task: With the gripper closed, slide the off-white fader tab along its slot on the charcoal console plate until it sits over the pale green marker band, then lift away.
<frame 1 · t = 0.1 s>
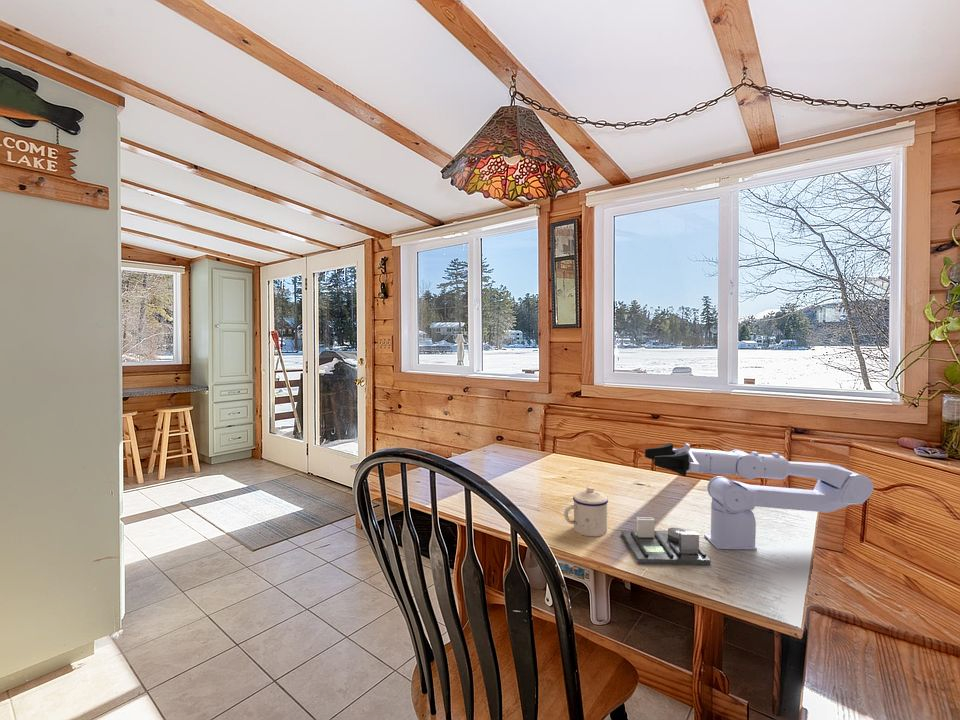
hand: (649, 456, 118), 22 cm above the table, tool horizontal, fingers open, 7 cm apart
teacup with lid: (585, 531, 126), on the table
fader: (645, 527, 119), point 4 cm above the table, slide at -4.0 cm
console: (662, 548, 115), on the table
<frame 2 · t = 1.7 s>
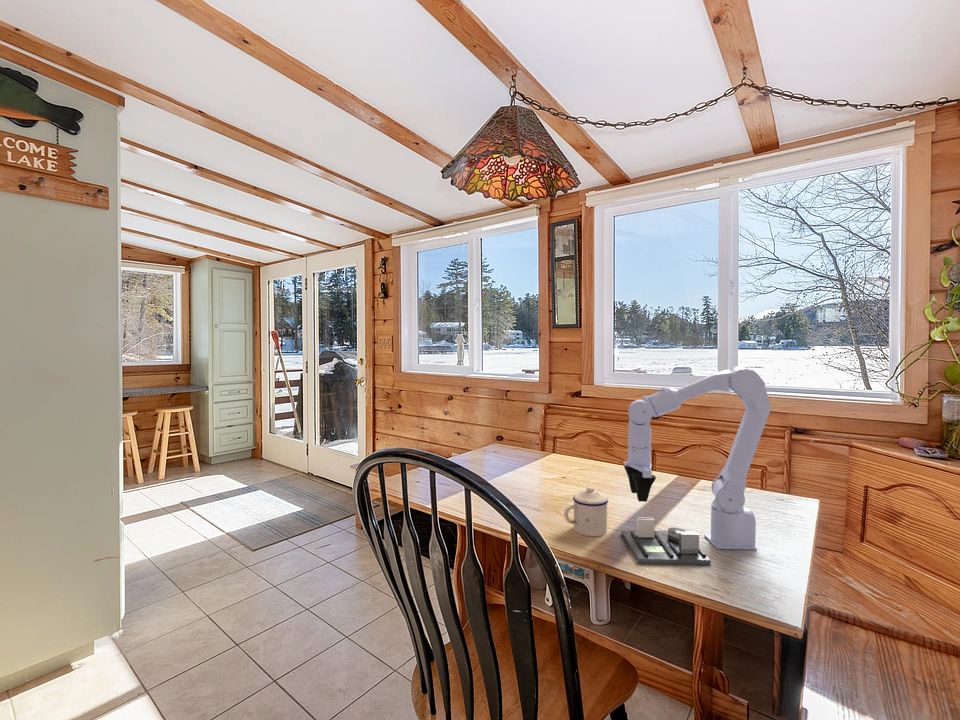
hand: (639, 496, 125), 9 cm above the table, tool pointing down, fingers open, 6 cm apart
nothing on the table moved.
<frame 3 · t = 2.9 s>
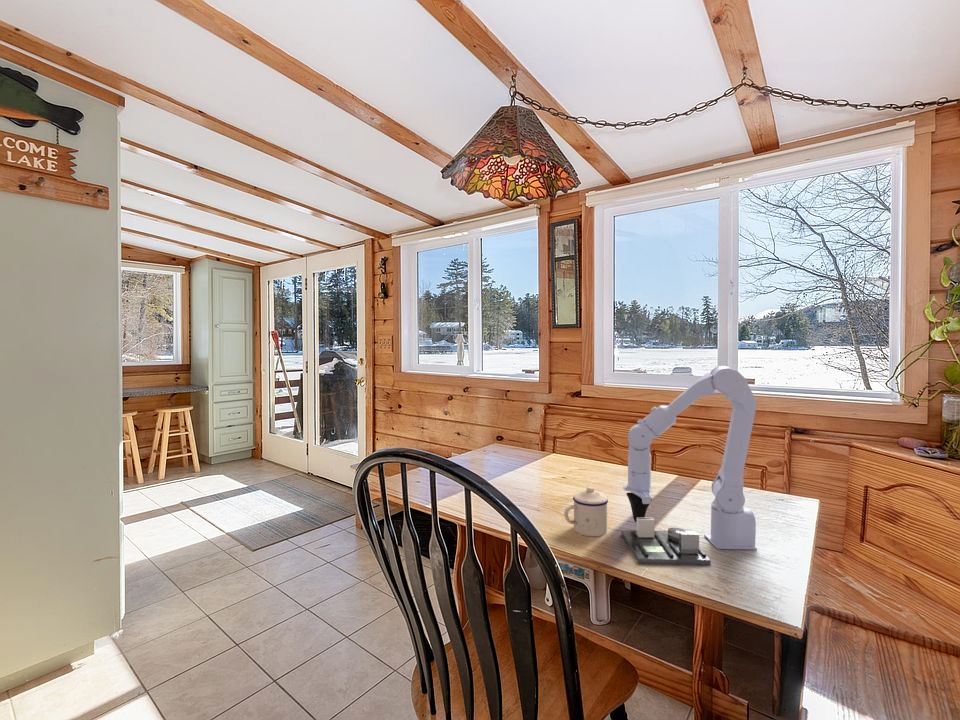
hand: (638, 521, 125), 3 cm above the table, tool pointing down, fingers closed
nothing on the table moved.
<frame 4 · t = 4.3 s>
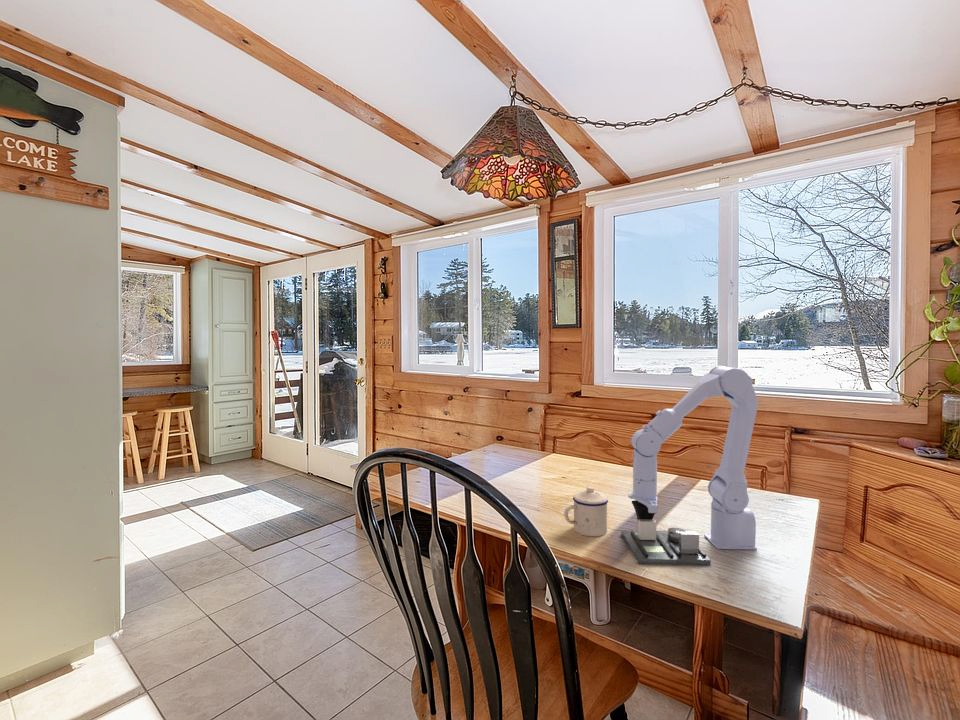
hand: (644, 530, 120), 2 cm above the table, tool pointing down, fingers closed
fader: (647, 529, 118), point 4 cm above the table, slide at -2.6 cm, touching gripper
everything else where it was.
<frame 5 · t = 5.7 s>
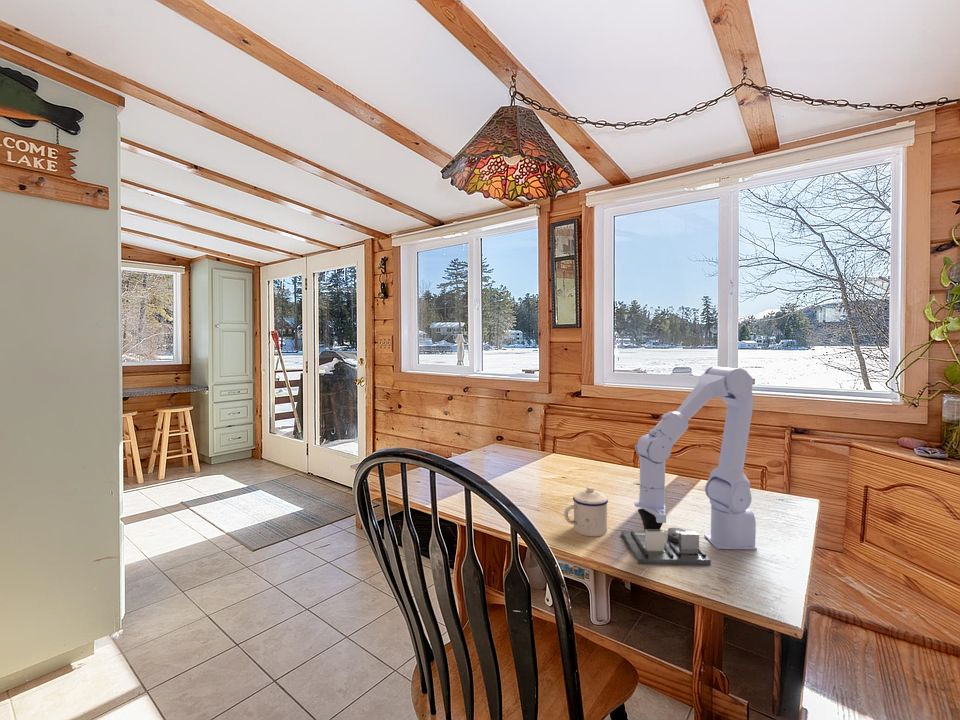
hand: (651, 540, 114), 2 cm above the table, tool pointing down, fingers closed
fader: (654, 539, 112), point 4 cm above the table, slide at 3.4 cm, touching gripper
everything else where it was.
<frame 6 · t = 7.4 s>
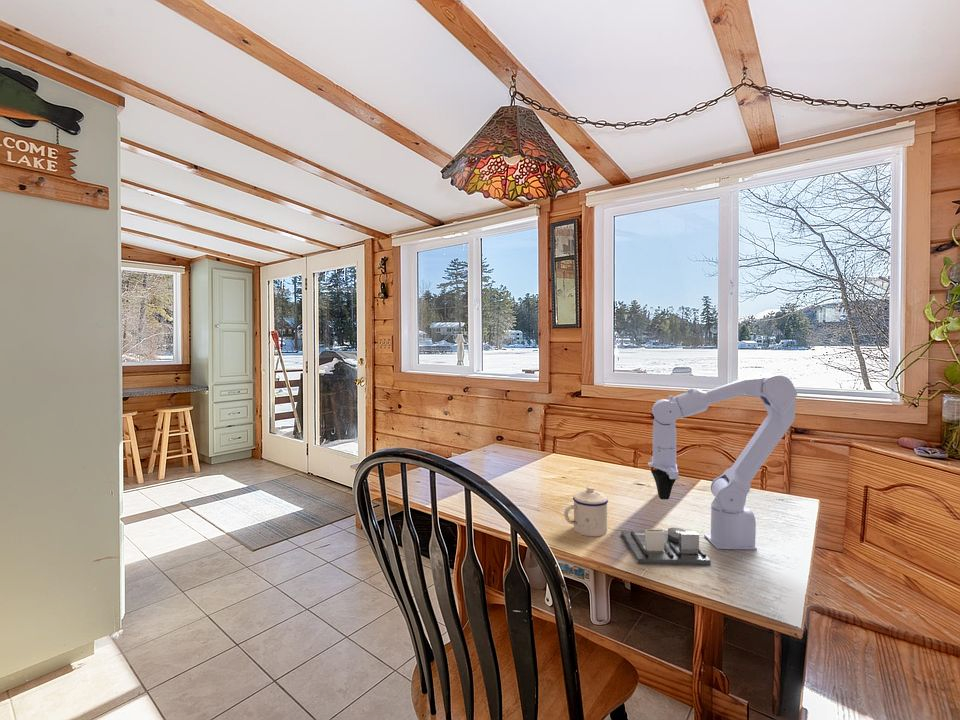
hand: (663, 498, 122), 10 cm above the table, tool pointing down, fingers closed
fader: (654, 539, 112), point 4 cm above the table, slide at 3.4 cm
everything else where it was.
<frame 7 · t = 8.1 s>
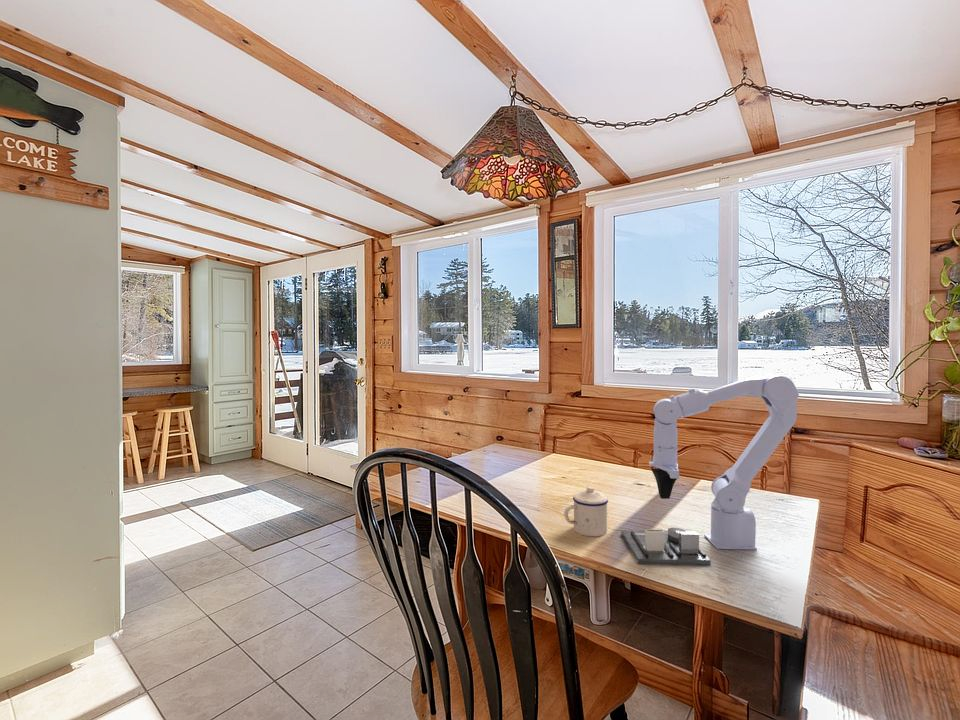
hand: (664, 497, 123), 10 cm above the table, tool pointing down, fingers closed
nothing on the table moved.
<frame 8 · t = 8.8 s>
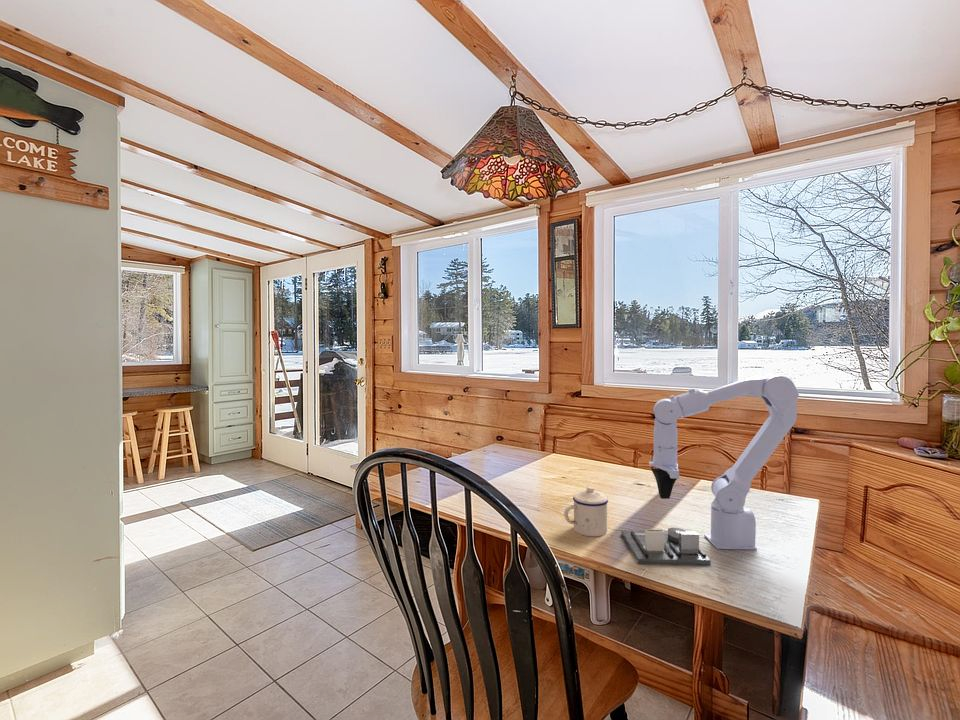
hand: (664, 497, 123), 10 cm above the table, tool pointing down, fingers closed
nothing on the table moved.
at the end: fader slide at 3.4 cm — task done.
